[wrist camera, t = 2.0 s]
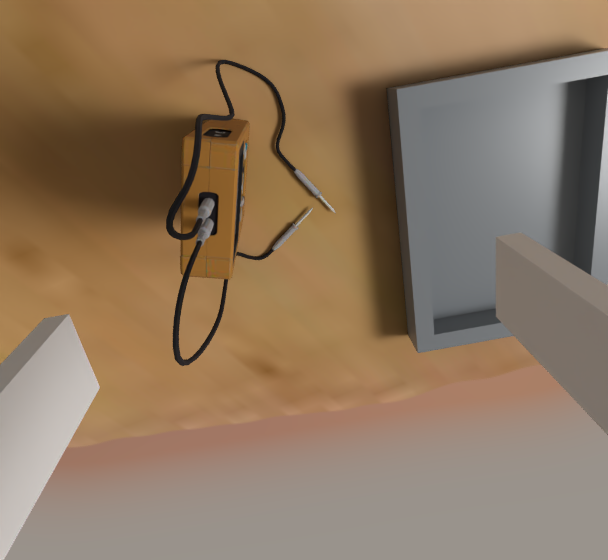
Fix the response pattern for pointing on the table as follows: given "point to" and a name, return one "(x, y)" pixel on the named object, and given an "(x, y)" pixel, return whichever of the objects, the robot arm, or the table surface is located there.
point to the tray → (496, 184)
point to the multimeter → (216, 201)
